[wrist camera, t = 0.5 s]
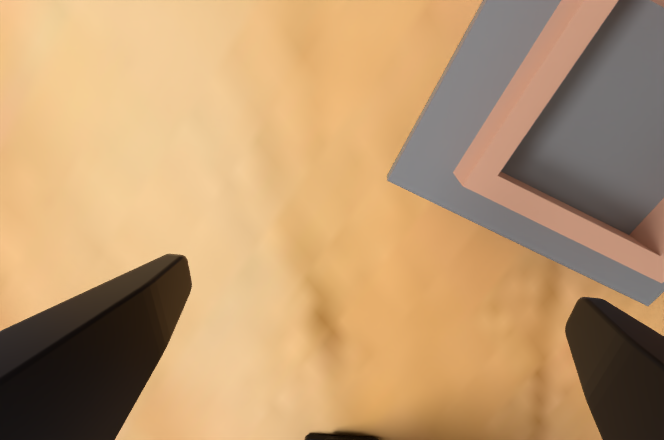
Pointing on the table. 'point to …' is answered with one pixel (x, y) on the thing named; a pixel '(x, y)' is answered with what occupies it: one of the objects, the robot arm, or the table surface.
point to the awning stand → (554, 135)
